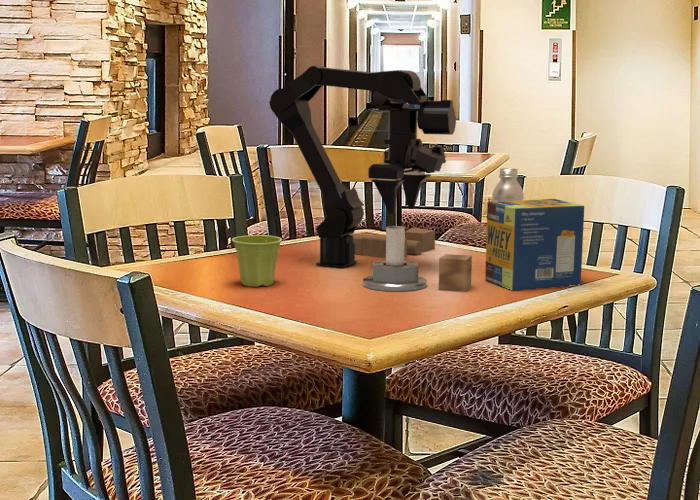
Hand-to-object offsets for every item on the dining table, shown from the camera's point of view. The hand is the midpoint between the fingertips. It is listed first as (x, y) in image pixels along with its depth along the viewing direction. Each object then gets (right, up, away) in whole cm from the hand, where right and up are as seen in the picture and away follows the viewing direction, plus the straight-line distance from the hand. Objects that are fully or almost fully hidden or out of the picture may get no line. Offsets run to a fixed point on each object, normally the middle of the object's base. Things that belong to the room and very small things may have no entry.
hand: (401, 211), depth 201 cm
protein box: (+25, -14, -11) cm, 31 cm away
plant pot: (-28, -15, -13) cm, 34 cm away
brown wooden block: (+9, -15, -16) cm, 24 cm away
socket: (-2, -14, -14) cm, 20 cm away
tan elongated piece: (-2, -14, -14) cm, 20 cm away
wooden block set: (-2, -9, +25) cm, 27 cm away
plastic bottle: (+23, -11, +10) cm, 27 cm away
